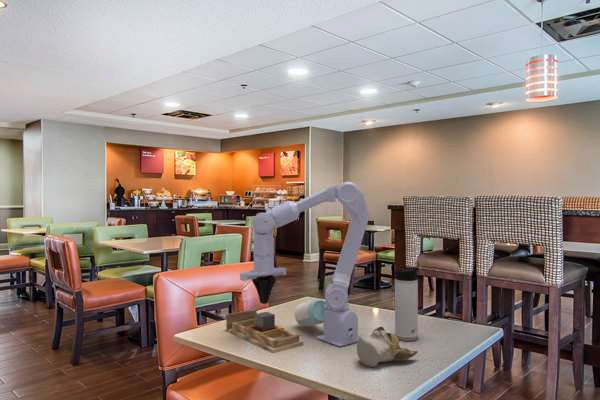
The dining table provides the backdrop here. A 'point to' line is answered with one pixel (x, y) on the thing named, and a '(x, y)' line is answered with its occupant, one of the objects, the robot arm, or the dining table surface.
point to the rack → (269, 340)
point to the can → (310, 312)
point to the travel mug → (406, 304)
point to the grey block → (264, 321)
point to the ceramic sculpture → (381, 348)
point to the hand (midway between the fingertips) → (264, 303)
